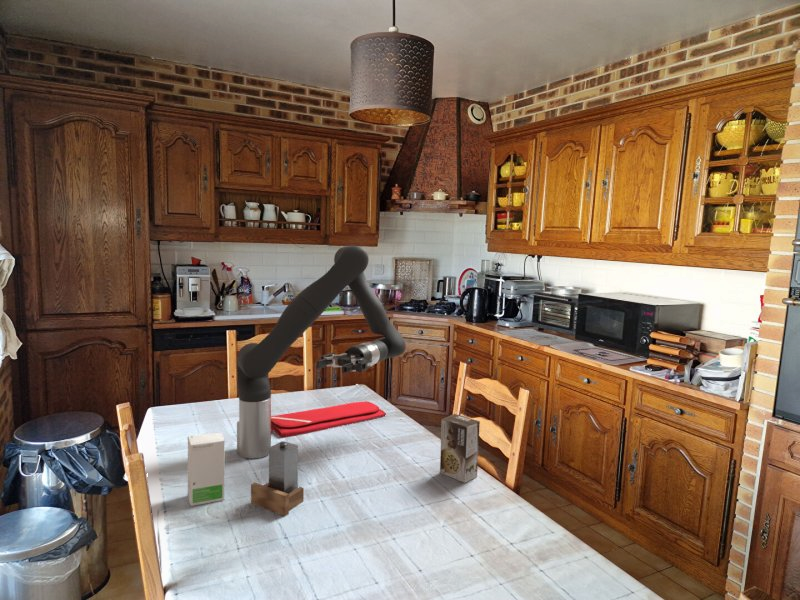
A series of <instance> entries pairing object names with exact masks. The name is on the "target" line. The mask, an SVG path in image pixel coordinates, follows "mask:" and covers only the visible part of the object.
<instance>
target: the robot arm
mask: <svg viewBox="0 0 800 600" xmlns="http://www.w3.org/2000/svg"><path fill="white" fill-rule="evenodd" d="M369 259H370V258H369V254H368V252H367V251H366V249H364V248H363V247H361V246H357V245H347V246H345V245H344V246H342V247H340V248H338V249H337V250H336V252H335V254H334V257H333V262H334V264H333V265H332V266H331V268H329V270H327V271H326V273H325V274H323V275H322V276H321V277H319V278H318V279H317V280H315V281H313V282H312V283H311V284H309V285H308V286H306V287H305V288H304V289H302V290H301V291H300V292H299V293H298V294H297V295H296V296H295V297H294V298H293V299H292V300H291V301H290V302H289V304H288V305H287V306H286V307H285V308H284V310H283V312H281V314H280V317H279V318H278V320H277V322H276V324H275V326H274V327H273V328H272V330H271V331H270V332H269V333H268V334H267V335H266V336H265V337H264V338H263V339H262V340H261V341H259V342H258V343H256V342H249V343H247V344H245V345H243V346H242V347H241V348H240V350H239V351H238V354H237V355H236V379H237V382H236V383H237V390H238V391H237V392H238V418H239V419H238V421H237V422H236V452H237V453H238V454H239V455H240V457H242V458H244V459H261V458H263V457H267V456H269V447H271V446H272V429H271V416H272V397H271V396H272V388H271V384H270V379H269V373H270V372H271V371H272V370H273V368H274V367H275V366H276V365H277V363H278V362H279V361H280V359H281V358H283V355H285V353H287V352H286V351H288V349H289V348H290V347H291V346H292V345H293V344H294V343H296V341H297V340H298V339H299V338H300V337H301V336H302V335H303V334H304V333H305V332H306V330H308V329H309V328H310V327H311V325H313V323H315V322H316V321H317V320H318V319H319V317H320V316H321V315H322V314H323V313H324V312H325V310H326V309H327V308H329V306H330V305H331V304H332V303H333V302H334V301H335V299H336V298H337V297H338V295H340V293H341V292H342V291H344V289H346V287H347V286H348V288H349V289H350V290H351V293H352V294H353V296H354V298H355V300H356V302H357V304H358V306H359V309H360V310H361V312H362V314H363V315H362V316H363V317H364V319H365V321H366V325H367V326H368V328H369V330H370V332H371V333H372V334H373V335H382V336H383V337H380V338H377V339H375V340H371V341H367V342H363V343H359V344H356V345H355V344H354V345H352V346H350V347H348V348H347V349H345V351H344V353H340V354H336V353H335V352H331V353H328V354H327V353H326V354H323V355H321V356H320V359H319V360H317V361H316V369H317V370H320V369H324V368H326V367H332V368H341V373H342V374H345V375H346V374H347V373H351V372H354V373H355V372H358V373H362V372H364V371H367V370H369V369H371V367H373V366H374V365H375V364H379V363H380V362H383V361H384V360H386V359H390V358H395V357H399V356H402V355H404V354H405V352H406V350H407V349H406V348H407V347H406V345H407V344H406V341H405V339H404V337H403V335H402V334H401V333H400V332H399V330H398V329H397V328H396V327H395V325H393V324H392V322H391V321H390V319H389V316H388V314H387V311H386V309H385V307H384V305H383V304H382V301H381V300H380V299H379V297H378V296H377V293H375V291H374V289H372V287H371V286H370V283H369V282H368V279H367V277H366V276H365V273H364V272H365V270H366V269H367V268H368V265H369V261H370V260H369ZM336 361H337V364H336Z"/></svg>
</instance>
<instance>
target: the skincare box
mask: <svg viewBox="0 0 800 600" xmlns="http://www.w3.org/2000/svg"><path fill="white" fill-rule="evenodd" d="M186 438H187V498H188V502H189V506H190V507H191V506H192V507H194V506H198V505H204V504H208V503H214V502H221V501H225V449H226V448H225V445H226V444H225V442H226V441H225V438H224V435H223V433H222V432H215V433H214V432H213V433H201V434H194V435H188V436H187V437H186Z"/></svg>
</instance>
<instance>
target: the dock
mask: <svg viewBox="0 0 800 600" xmlns="http://www.w3.org/2000/svg"><path fill="white" fill-rule="evenodd" d="M304 496H305V494H304V487H302V486H298V488H297V489H295V490H294V491H292V492H291V493H289V494H287V493H284V492H281V491H279V490H276V489H273V488H270V487H269V481H268V482H267V483H265V484H260V483H259V482H256V481H255V482H252V483H251V484H250V504H252V505H255V506H256V507H257V506H258V507H259V508H263V509H265V510H268V511H270V512H273V513H276V514H278V515H281V516H284V517H286V516H288V515H289V514H290V511H291V510H293V509H294V508H296V507H297V506H298V505H300V504H301V503H303V502H304Z"/></svg>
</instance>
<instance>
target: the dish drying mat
mask: <svg viewBox="0 0 800 600" xmlns="http://www.w3.org/2000/svg"><path fill="white" fill-rule="evenodd" d="M385 415H386V416H387V413H386V411H384V410H382V409H380V406H378V405H376V404H375V403H373V402H370V401H367V400H366V401H353V402H349V403H343V404H339V405H333V406H328V407H327V406H326V407H321V408H320V407H319V408H314V409H308V410H302V411H295V412H290V413H289V412H288V413H282V414H277V415H276V414H275V415H271V431H273V432H274V433H275V434H276V435H277V436H278V437H280V438H281V439H283V438H285V439H286V438H289V437H294V436H299V435H305V434H309V433H310V434H311V433H314V432H315V433H316V432H319V431H320V432H321V431H325V430H329V429H333V427H334V428H338V426H339V427H342V425H344V426H347V424H348V425H352V423H353V424H356V422H357V423H361V422H360V421H362V422H366V421H365V420H367V421H370V420H369V419H371V420H374V419H373V418H375V419H378V418H377V417H380V418H383V417H382V416H384V417H386V416H385ZM328 428H329V429H328ZM324 429H325V430H324Z"/></svg>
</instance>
